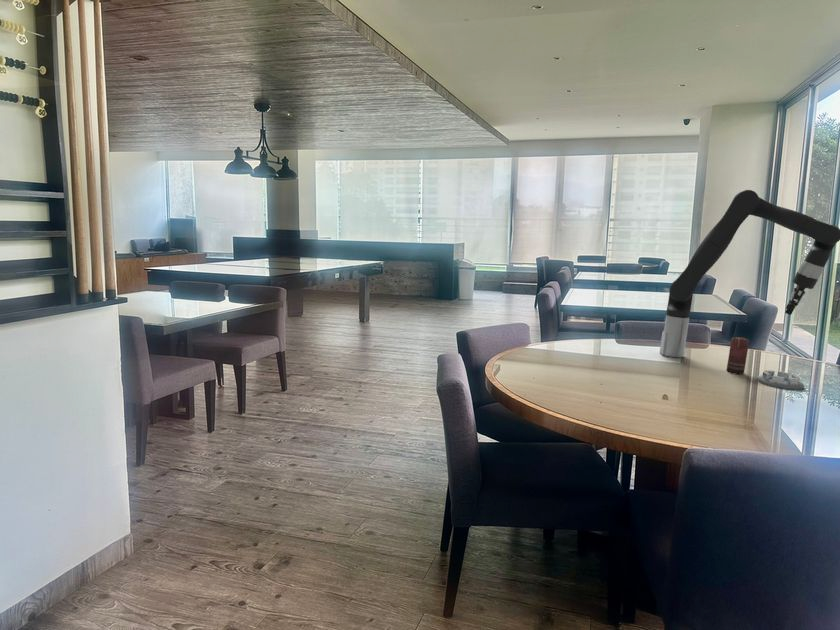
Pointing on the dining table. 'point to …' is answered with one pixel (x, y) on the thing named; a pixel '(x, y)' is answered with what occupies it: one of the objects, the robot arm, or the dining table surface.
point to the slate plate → (784, 386)
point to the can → (737, 355)
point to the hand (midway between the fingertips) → (788, 311)
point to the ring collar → (780, 378)
